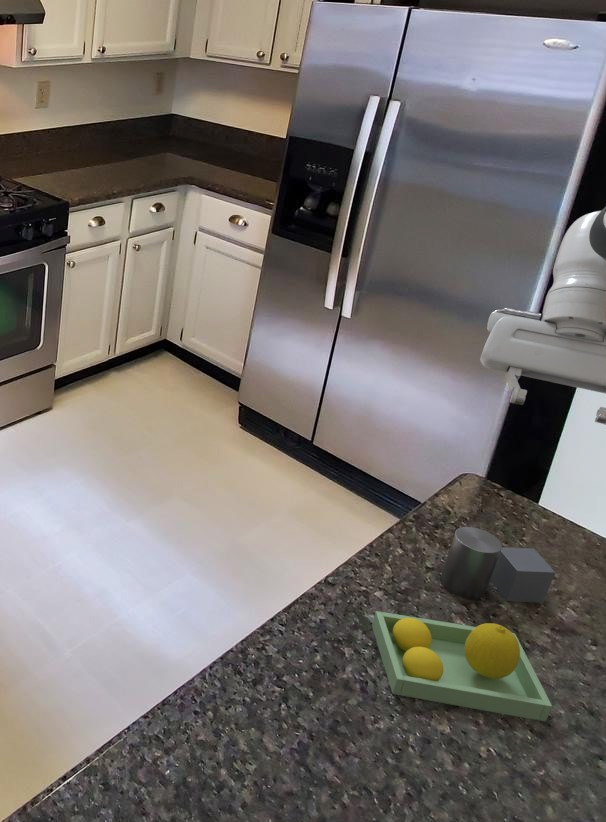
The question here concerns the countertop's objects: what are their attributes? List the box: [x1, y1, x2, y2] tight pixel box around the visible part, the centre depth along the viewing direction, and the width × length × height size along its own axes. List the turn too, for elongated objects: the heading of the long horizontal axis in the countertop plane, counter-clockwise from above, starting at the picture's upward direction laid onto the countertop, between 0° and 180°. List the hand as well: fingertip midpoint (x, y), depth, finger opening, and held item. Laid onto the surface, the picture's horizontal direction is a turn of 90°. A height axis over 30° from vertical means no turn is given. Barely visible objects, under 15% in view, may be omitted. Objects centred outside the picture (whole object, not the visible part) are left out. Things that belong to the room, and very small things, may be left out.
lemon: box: [465, 622, 520, 679], centre depth 99 cm, size 6×6×8 cm
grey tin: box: [439, 526, 503, 601], centre depth 113 cm, size 6×6×9 cm
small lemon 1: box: [393, 618, 432, 651], centre depth 103 cm, size 4×4×4 cm
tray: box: [371, 610, 553, 722], centre depth 101 cm, size 17×12×3 cm
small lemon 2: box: [402, 647, 443, 681], centre depth 99 cm, size 4×4×4 cm
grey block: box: [490, 546, 556, 606], centre depth 113 cm, size 5×5×6 cm
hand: (558, 412), depth 106 cm, fingers open, 8 cm apart
